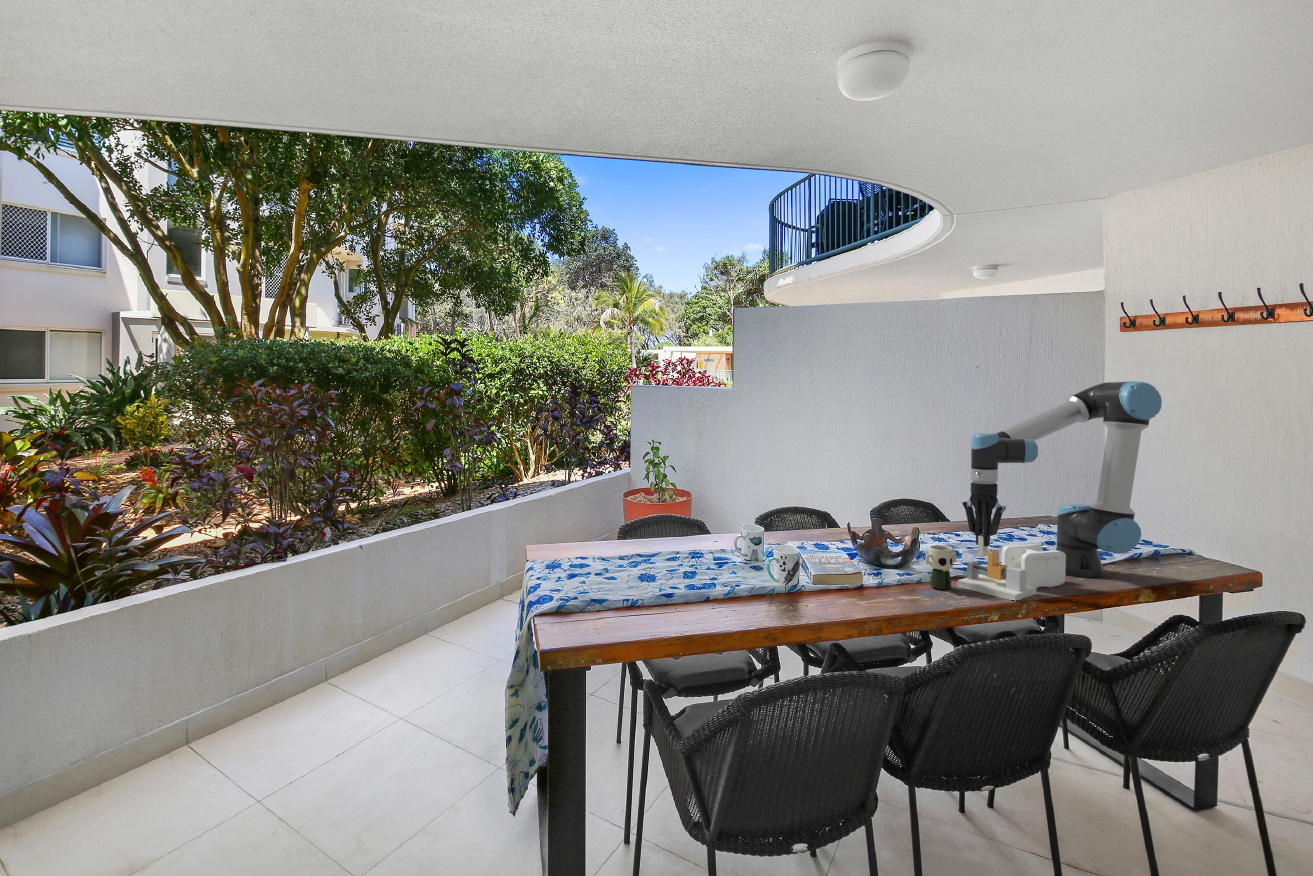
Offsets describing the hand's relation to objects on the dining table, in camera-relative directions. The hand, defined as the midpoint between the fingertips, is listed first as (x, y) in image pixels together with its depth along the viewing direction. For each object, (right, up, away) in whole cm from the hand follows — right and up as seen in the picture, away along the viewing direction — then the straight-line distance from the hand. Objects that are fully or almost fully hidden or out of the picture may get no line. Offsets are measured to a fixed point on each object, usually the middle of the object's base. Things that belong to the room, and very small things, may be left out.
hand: (982, 555), depth 197 cm
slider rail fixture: (+3, -10, -3) cm, 11 cm away
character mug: (-13, -10, 0) cm, 17 cm away
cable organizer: (+18, -10, +3) cm, 21 cm away
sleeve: (+3, -6, -4) cm, 8 cm away
